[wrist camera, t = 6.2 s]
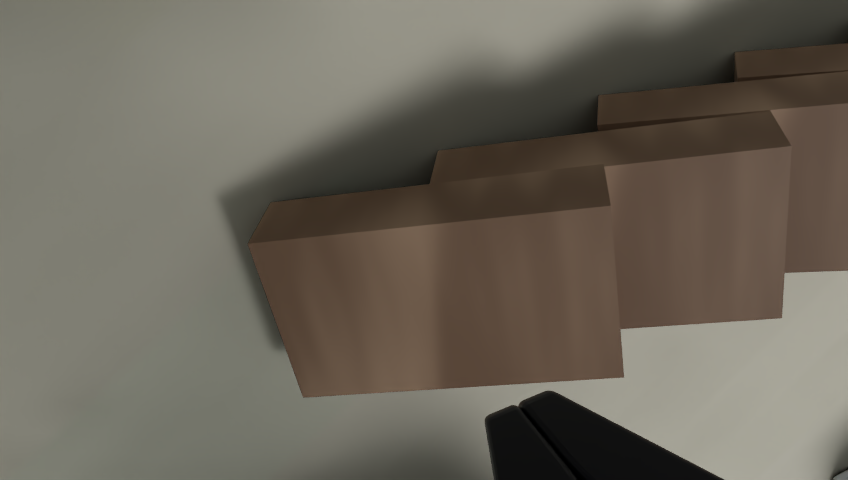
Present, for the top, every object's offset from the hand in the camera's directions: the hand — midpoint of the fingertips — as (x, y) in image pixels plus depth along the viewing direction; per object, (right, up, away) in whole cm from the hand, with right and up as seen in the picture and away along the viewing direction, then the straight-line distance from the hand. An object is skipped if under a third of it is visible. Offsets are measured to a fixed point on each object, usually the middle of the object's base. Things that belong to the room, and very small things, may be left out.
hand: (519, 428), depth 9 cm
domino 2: (0, +2, +13) cm, 13 cm away
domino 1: (-5, 0, +12) cm, 13 cm away
